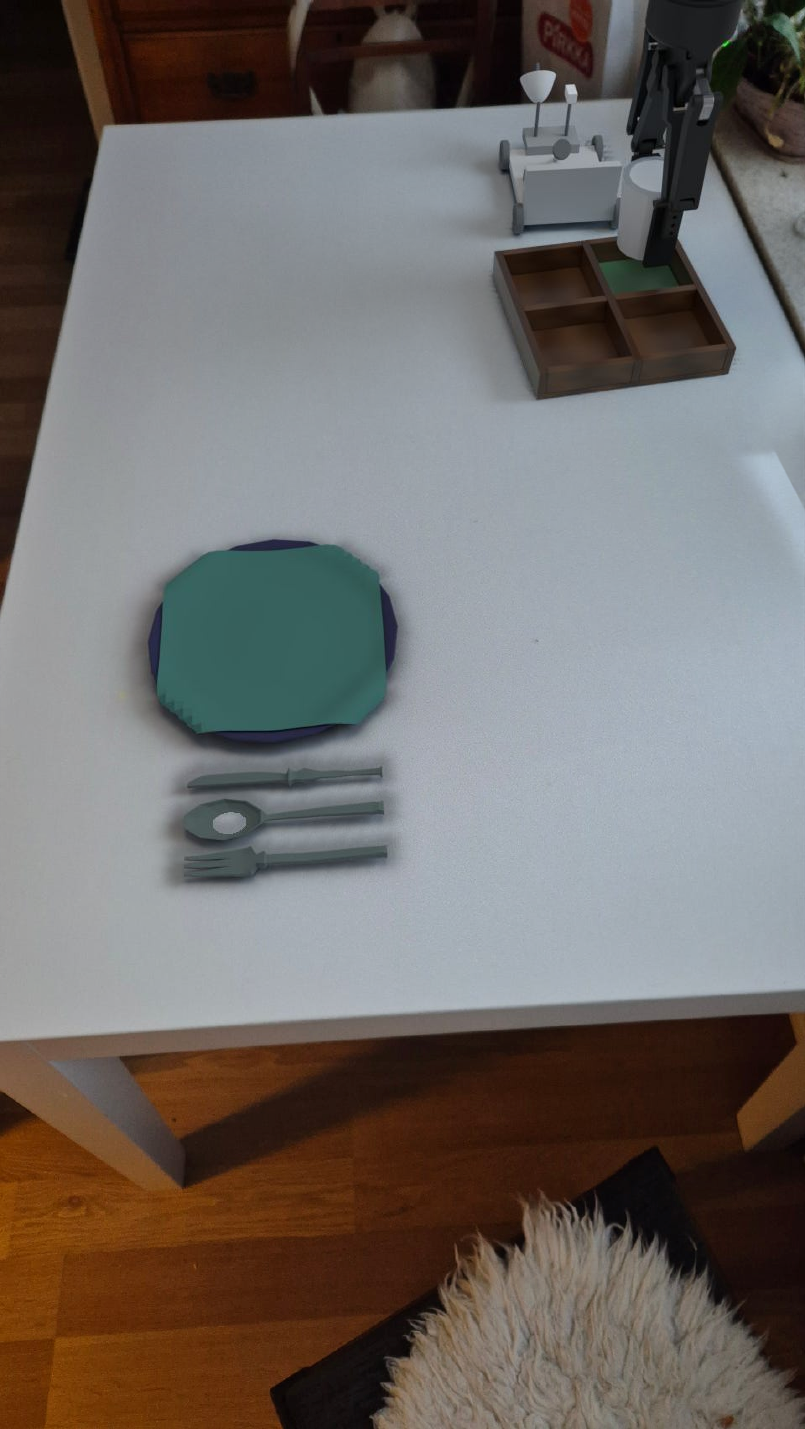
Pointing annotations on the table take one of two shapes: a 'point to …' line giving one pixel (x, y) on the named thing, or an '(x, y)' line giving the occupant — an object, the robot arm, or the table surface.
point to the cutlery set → (272, 671)
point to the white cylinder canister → (638, 204)
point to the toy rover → (559, 168)
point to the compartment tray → (608, 318)
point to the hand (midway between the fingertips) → (645, 241)
